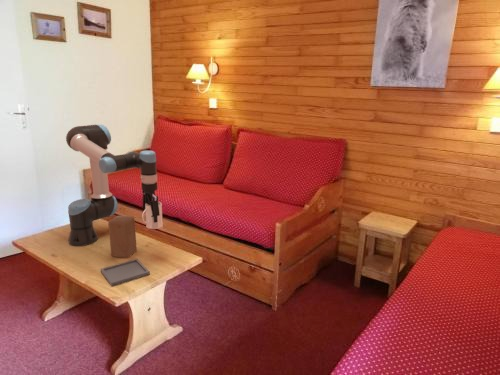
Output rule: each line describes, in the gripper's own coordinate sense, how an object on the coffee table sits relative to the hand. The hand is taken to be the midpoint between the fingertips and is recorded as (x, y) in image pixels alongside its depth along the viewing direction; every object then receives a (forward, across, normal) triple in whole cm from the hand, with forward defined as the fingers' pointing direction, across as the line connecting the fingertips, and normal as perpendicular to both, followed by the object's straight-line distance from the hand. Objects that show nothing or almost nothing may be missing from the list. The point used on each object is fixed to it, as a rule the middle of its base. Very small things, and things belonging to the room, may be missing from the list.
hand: (151, 225), depth 190 cm
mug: (+1, 0, 0) cm, 1 cm away
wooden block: (+18, -13, -11) cm, 25 cm away
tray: (+18, +8, -18) cm, 27 cm away
